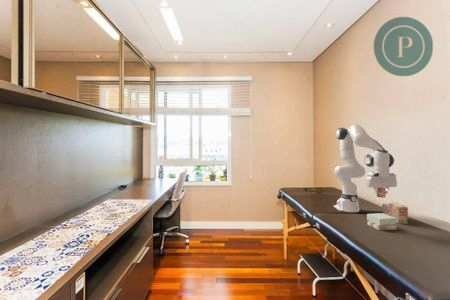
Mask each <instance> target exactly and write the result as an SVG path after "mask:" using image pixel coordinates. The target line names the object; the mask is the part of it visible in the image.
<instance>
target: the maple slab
mask: <svg viewBox="0 0 450 300" xmlns="http://www.w3.org/2000/svg"><path fill="white" fill-rule="evenodd" d="M366 220H367V219H366ZM366 222H367V223H366V224H367V226H370V227H371V228H374V229H376V230H378V231H397V228H398V227H397V224H398V223H396V224H390V225H378V224H376V223H374V222H372V221H369V220H367V221H366Z"/></svg>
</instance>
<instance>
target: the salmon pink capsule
mask: <svg viewBox="0 0 450 300" xmlns="http://www.w3.org/2000/svg"><path fill="white" fill-rule="evenodd" d="M376 190H377V191H378V194H376V197H377V198H382V199H383V198H386V196H387V195H386V188H385V187H377V189H376Z"/></svg>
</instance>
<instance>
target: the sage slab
mask: <svg viewBox="0 0 450 300" xmlns="http://www.w3.org/2000/svg"><path fill="white" fill-rule="evenodd" d="M366 220H369V221H372V222H374V223H376V224H378V225H390V224H397V223H396V218H394V217H391V216H389V215H386V214H383V212H382V213H379V212H377V213H367V214H366Z"/></svg>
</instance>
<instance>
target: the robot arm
mask: <svg viewBox="0 0 450 300" xmlns="http://www.w3.org/2000/svg"><path fill="white" fill-rule="evenodd" d="M335 137H336V138H337V140H339V152H340V153H339V154H340V159H341V160H342V161H344V162H345V163H346V164H343V165H338V166H335V168H334V171H333V172H334V173H333V174H334V175H335V177H337V178H338V179H339V181H340V182H341V187H342V189H341V190H342V193H340V196H341V197H339V198H338V199H337V201H336V204H335V205H333V208H335V209H336V210H338V211H340V212H348V213H358V212H360V211H361V208H360V205H359V200H358V194H357V193H358V185H356V183H354V182H353V181H352V179H358V178H362V177H364V176H365V175H366V178H365V187H367V188H370V189H371V188H372V189H373V190H374V194H375V195H377V194H378V191H377V187H382V188H386V194H387V195H388V193H389V191H390V188H397V185H398V182H397V175H396V174H395V173H394V172H392V173H390V167H393V165H394V164H395V159H394V156H393V155H392V154H390V153H389V150H386V149H385V148H384V147H383V146H382V145H381V144H380V143H379V142H378V140H376V139H374V138H373V137H371V136H370V135H369V134H368V133H367V131H366V130H365V128H363V127H362V126H361V125H360V124H353V125H351V126H348V127H347V126H345V127H339V128H337V129H336V133H335ZM354 144H355V145H356V146H357V147H360V148H361V147H362V148H365V149H366V148H367V149H371V150H373V152H371V153H368V154H366V155H365V158H364V164H365V165H366V166H367V167H369V168H373V170H370V171H367V172H366V168H365V167H364V166H363V165H361V163H359V161H358V159H357V158H356V152H355V146H354Z"/></svg>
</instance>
